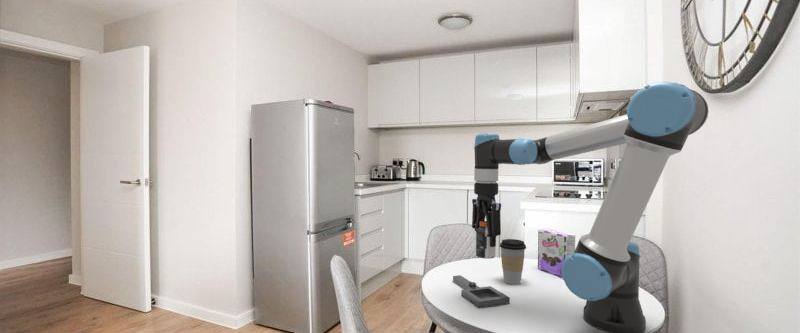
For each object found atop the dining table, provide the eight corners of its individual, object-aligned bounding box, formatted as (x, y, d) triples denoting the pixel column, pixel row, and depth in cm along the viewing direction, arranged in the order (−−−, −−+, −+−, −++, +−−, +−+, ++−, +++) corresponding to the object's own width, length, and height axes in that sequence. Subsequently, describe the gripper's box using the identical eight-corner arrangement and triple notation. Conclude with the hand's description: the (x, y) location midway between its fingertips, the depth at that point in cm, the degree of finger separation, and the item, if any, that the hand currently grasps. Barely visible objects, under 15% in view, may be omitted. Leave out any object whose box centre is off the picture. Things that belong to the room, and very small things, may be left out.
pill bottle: (495, 259, 118) (495, 223, 118) (475, 258, 119) (476, 222, 119) (494, 254, 124) (495, 220, 124) (476, 253, 125) (476, 219, 125)
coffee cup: (496, 283, 137) (496, 242, 137) (502, 276, 146) (502, 237, 145) (523, 287, 133) (523, 245, 133) (528, 280, 141) (528, 240, 141)
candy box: (536, 269, 156) (537, 229, 155) (547, 267, 158) (548, 228, 158) (564, 278, 143) (564, 235, 143) (575, 276, 146) (576, 234, 145)
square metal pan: (509, 303, 118) (509, 294, 118) (478, 308, 115) (478, 299, 115) (469, 279, 142) (469, 272, 142) (443, 282, 139) (443, 274, 138)
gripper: (514, 184, 113) (512, 260, 114) (481, 180, 131) (480, 246, 132) (492, 184, 111) (491, 263, 112) (461, 180, 129) (460, 248, 130)
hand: (485, 253), depth 122 cm, fingers closed on pill bottle, 6 cm apart
